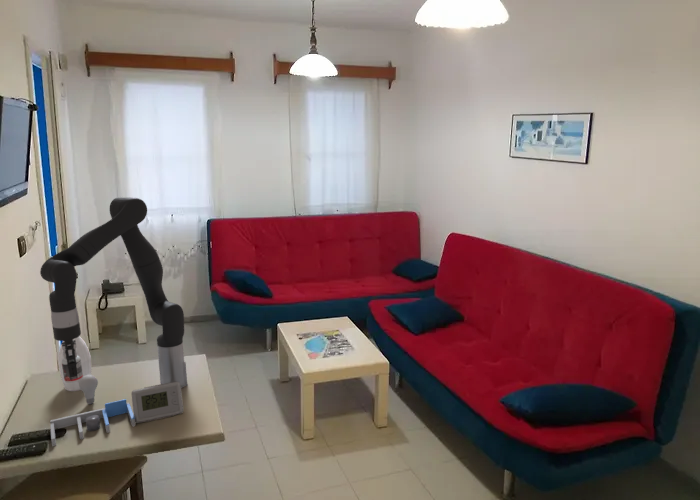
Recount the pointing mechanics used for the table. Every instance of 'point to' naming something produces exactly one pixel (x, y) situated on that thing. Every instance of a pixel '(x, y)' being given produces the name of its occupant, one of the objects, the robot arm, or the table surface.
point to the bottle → (85, 363)
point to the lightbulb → (88, 387)
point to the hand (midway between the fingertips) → (73, 372)
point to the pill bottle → (66, 370)
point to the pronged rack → (93, 418)
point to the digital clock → (157, 402)
